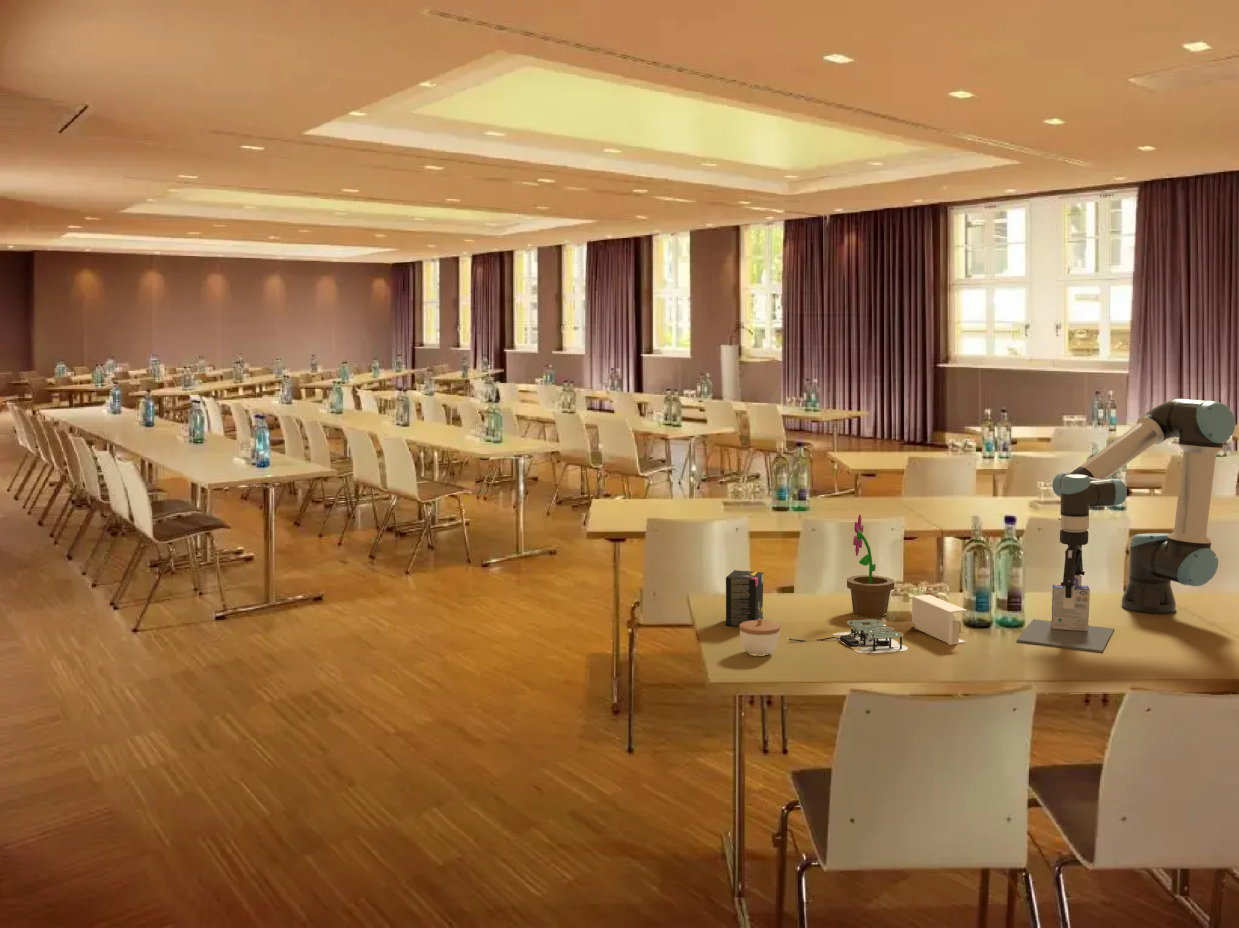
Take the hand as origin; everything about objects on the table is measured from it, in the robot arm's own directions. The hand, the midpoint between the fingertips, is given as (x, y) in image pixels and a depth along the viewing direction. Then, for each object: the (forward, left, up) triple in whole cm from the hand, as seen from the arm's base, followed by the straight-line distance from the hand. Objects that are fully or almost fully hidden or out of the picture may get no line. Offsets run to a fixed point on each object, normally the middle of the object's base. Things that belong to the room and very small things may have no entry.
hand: (1072, 603), depth 326 cm
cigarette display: (+22, -32, -8) cm, 40 cm away
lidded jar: (+63, -69, -8) cm, 94 cm away
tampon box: (+36, -85, -8) cm, 93 cm away
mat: (+7, 0, -8) cm, 11 cm away
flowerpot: (+8, -56, -8) cm, 58 cm away
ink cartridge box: (0, 0, -8) cm, 8 cm away
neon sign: (+43, -52, -9) cm, 68 cm away
